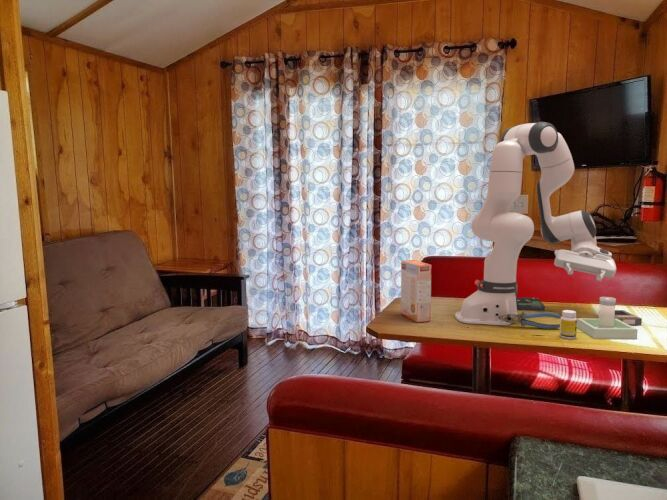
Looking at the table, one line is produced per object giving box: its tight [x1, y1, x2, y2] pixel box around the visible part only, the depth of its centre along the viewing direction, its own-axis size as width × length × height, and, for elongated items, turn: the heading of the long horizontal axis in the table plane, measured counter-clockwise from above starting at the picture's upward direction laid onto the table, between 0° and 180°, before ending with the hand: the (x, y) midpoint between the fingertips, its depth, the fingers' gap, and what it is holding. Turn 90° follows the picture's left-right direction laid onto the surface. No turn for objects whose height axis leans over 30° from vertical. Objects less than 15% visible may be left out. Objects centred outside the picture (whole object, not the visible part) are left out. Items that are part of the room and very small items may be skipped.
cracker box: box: [400, 259, 432, 323], centre depth 184 cm, size 14×6×21 cm, turn 16°
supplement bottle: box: [559, 309, 578, 340], centre depth 159 cm, size 5×5×8 cm
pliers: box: [498, 310, 562, 330], centre depth 170 cm, size 20×2×6 cm, turn 79°
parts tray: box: [576, 317, 639, 340], centre depth 163 cm, size 13×13×3 cm
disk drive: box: [516, 296, 546, 312], centre depth 201 cm, size 10×3×15 cm
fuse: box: [598, 296, 617, 328], centre depth 163 cm, size 5×5×11 cm
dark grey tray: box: [614, 309, 643, 327], centre depth 178 cm, size 8×12×3 cm
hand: (584, 276), depth 176 cm, fingers open, 8 cm apart
